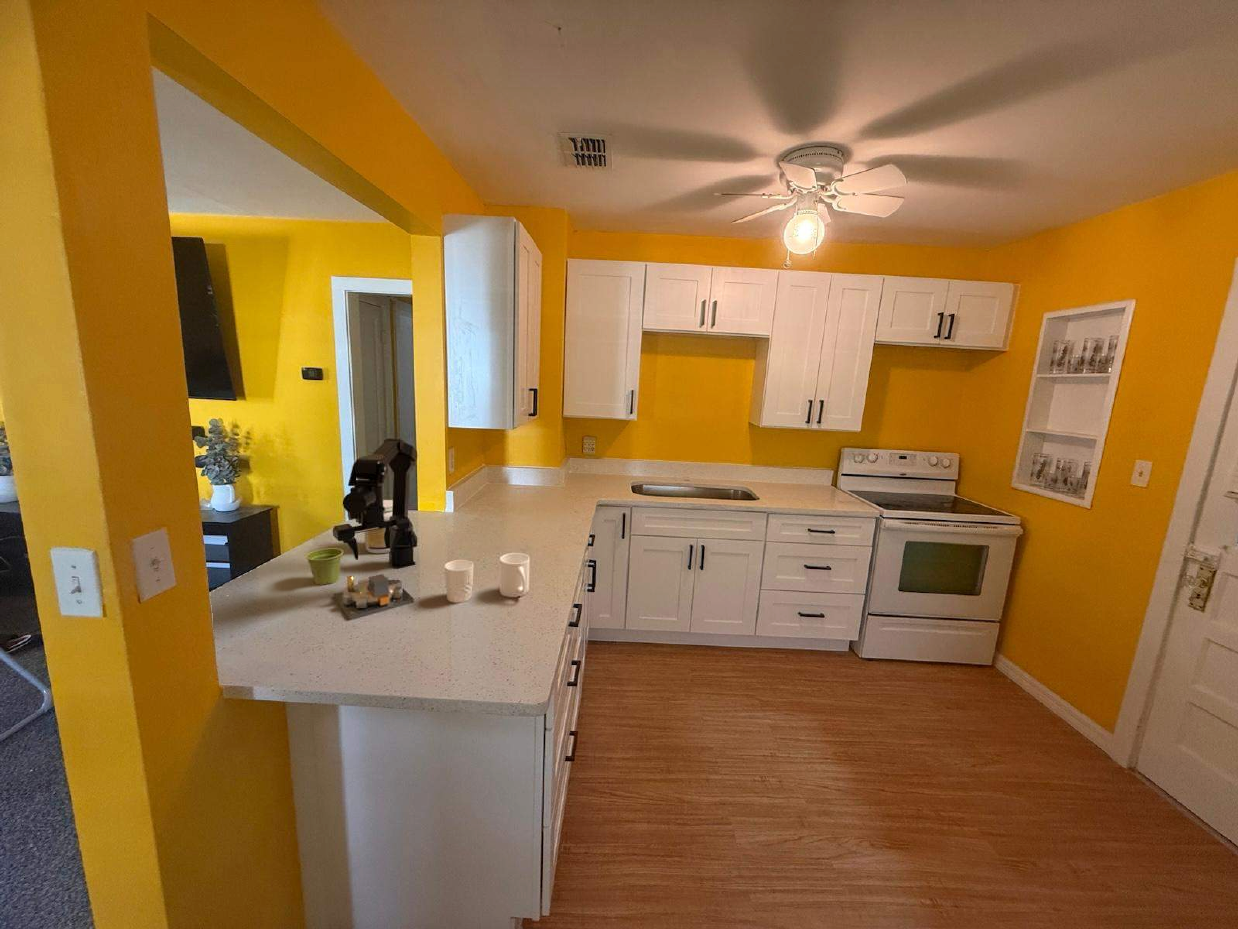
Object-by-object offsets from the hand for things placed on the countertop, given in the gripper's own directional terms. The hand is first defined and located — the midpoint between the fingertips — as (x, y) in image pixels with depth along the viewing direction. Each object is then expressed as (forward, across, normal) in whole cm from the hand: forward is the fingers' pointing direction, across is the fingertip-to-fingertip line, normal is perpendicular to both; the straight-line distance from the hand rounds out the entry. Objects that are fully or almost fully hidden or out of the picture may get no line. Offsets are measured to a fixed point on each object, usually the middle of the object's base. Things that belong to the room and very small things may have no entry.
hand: (374, 555), depth 131 cm
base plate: (+11, +2, +4) cm, 12 cm away
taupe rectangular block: (+8, +2, +8) cm, 11 cm away
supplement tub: (+13, -14, -34) cm, 39 cm away
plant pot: (+12, +9, -17) cm, 22 cm away
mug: (+12, -31, +26) cm, 42 cm away
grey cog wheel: (+10, +2, +4) cm, 11 cm away
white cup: (+12, -17, +18) cm, 27 cm away
